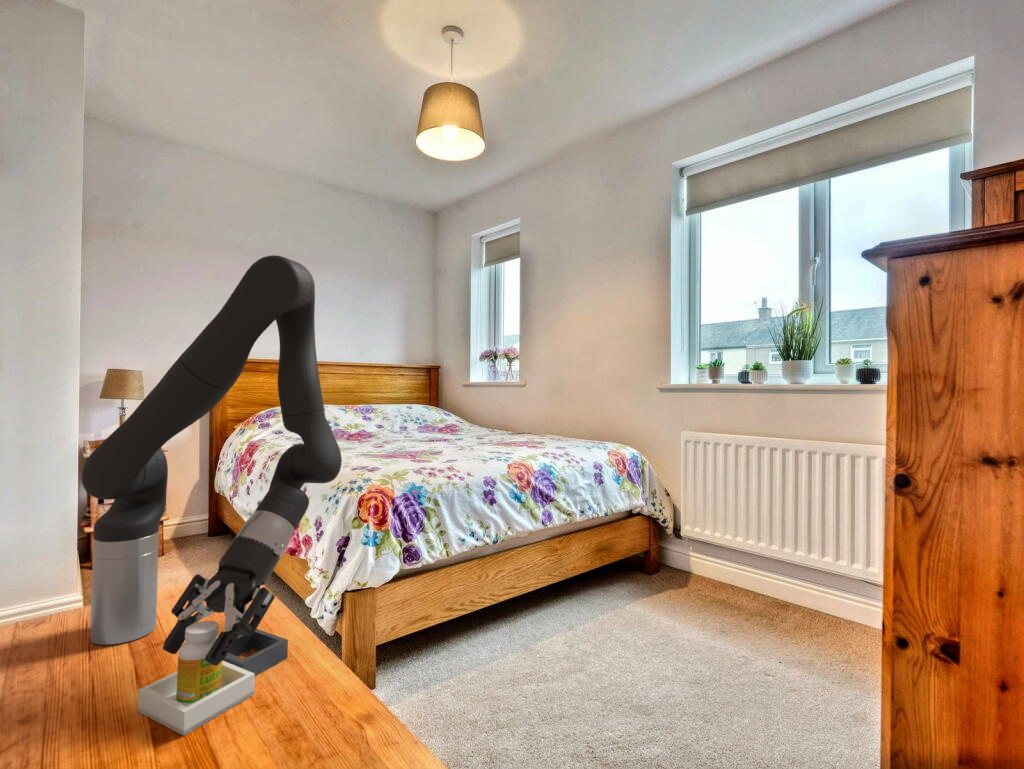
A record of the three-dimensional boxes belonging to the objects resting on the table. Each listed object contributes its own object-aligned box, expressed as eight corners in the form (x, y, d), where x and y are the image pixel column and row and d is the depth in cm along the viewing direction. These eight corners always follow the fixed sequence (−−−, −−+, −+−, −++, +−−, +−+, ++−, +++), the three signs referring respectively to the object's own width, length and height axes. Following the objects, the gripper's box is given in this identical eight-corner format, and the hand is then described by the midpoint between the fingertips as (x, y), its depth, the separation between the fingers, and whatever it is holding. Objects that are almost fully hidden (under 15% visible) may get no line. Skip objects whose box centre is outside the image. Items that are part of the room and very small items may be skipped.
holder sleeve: (207, 668, 81) (207, 649, 81) (253, 645, 88) (254, 627, 88) (242, 683, 77) (242, 663, 77) (287, 658, 84) (287, 639, 84)
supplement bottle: (200, 711, 69) (204, 637, 69) (166, 705, 70) (169, 632, 70) (229, 689, 75) (233, 620, 75) (197, 683, 76) (200, 616, 76)
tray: (138, 711, 70) (138, 689, 70) (209, 675, 79) (210, 655, 79) (183, 736, 65) (184, 712, 65) (254, 694, 74) (254, 673, 74)
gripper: (209, 529, 81) (132, 637, 70) (283, 540, 77) (213, 658, 66) (236, 552, 87) (168, 657, 75) (307, 564, 82) (245, 677, 71)
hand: (189, 657), depth 71 cm, fingers open, 7 cm apart
